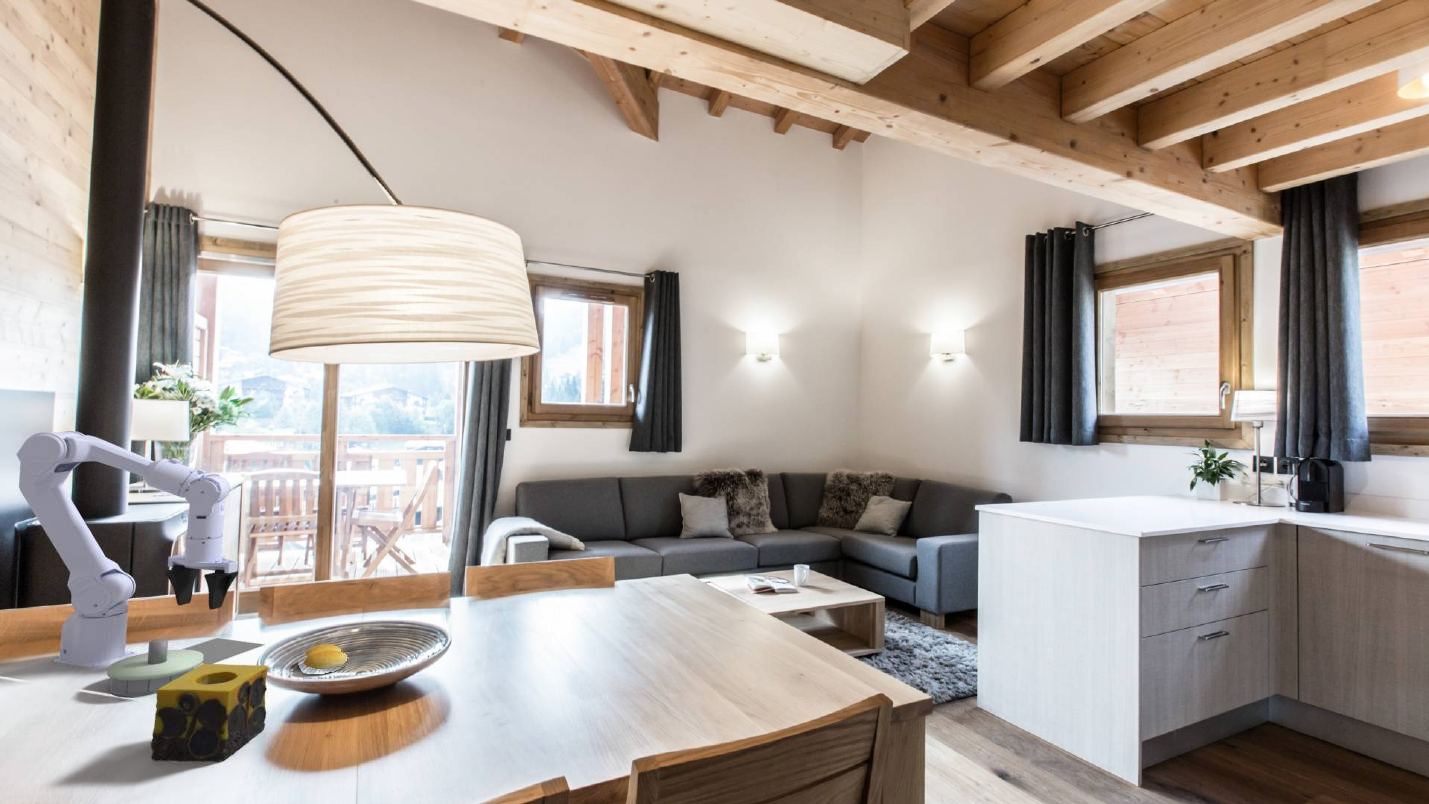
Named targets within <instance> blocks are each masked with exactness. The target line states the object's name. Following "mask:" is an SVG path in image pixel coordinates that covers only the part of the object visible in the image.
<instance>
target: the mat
mask: <svg viewBox="0 0 1429 804" xmlns="http://www.w3.org/2000/svg"><path fill="white" fill-rule="evenodd" d="M263 646H266V644H265V643H262V644H261V643H257V642H249V641H242V640H241V641H240V640H234V639H227V638H219V637H215V638H212V639H209V640H206V641H204V642H203V641H202V642H200V643H198V644H197V643H196V644H194V645H191V646H188V647H187V646H186V647H185V648H181V649H180V650H194V651H198V652H201V653H202V654H203V662H202V663H201V664H217V663H219V662H222V661H224V660H227V659H230V658H232V657H235V656H237V655H240V654H243V653H247V652H249V651H252V650H254V649H257V648H260V647H261V648H262V647H263Z"/></svg>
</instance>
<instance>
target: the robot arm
mask: <svg viewBox="0 0 1429 804" xmlns="http://www.w3.org/2000/svg"><path fill="white" fill-rule="evenodd" d="M16 456H17V458H18V460H19V462H20V463H19V464H20V465H19V477H18V479H19V480H18V481H19V482H18V488H19V491H20V493H21V494H22V496H23V499H25V501H26V502H27V505H28V506H29V507H30V509H31V511H32V512H33V514H34V516H35V517H36V519H37V520H38V522H39V524H40V526H41V527H42V529H43V531H44V532H45V534H46V535H47V537H48V538H49V540H50V542H51V543H52V545H53V546H54V548H55V549H56V550H55V551H56V552H57V553H58V554H59V556H60V558H61V559H62V561H63V563H64V564H65V566H66V567H67V570H68V571H69V577H68V581H67V587H68V589H69V591H70V594H71V600H70V601H71V602H70V603H71V606H72V608H73V610H74V611H75V612H73V613H72V614H70V615H69V616H68V617H67V618H66V619H65V621H64V622H63V625H62V627H61V632H60V634H61V635H60V648H59V657H58V658H55V659H54V660H53V662H54V663H58V664H59V663H60V664H65V665H72V666H78V667H84V668H92V669H93V668H98V667H101V666H104V665H107V664H110V663H115V662H117V661H119V660H122V659H125V658H128V657H131V656H135V655H138V652H137V651H131V650H126V642H127V631H128V630H127V628H128V617H129V616H128V615H129V604H128V600H129V599H130V598H131V597H133V595H134V593H135V592H136V588H137V586H136V581H135V579H134V577H133V576H131V575H130V574H128V573H127V572H125V571H123V569H122V568H121V567H120V566H119V563H117V562H115V561H114V560H111V559H110V558H108V557H106V556H105V554H104V552H103V550H102V548H101V547H100V545H99V543H98V542H97V540H96V539H95V537H94V536H93V535H94V534H92V532H91V530H90V528H89V527H88V525H87V524H86V522H85V521H84V519H83V517H82V516H81V514H80V512H79V510H78V508H77V507H76V505H75V504H74V502H73V500H72V498H71V497H70V495H69V493H68V492H67V491H66V489H65V487H64V483H65V482H66V481H67V479H68V477H69V475H70V473H71V472H72V471H74V469H75V468H76V467H78V466H79V465H80V464H81V463H85V462H86V463H87V462H98V463H101V464H103V465H107V466H110V467H113V468H116V469H120V470H121V471H125V472H128V473H132V474H134V475H138V476H141V477H143V479H144V481H145V484H146V485H147V486H148V487H152V488H154V489H157V490H159V491H163V492H165V493H167V494H171V495H174V496H177V497H179V498H181V499H183V498H185V501H186V502H187V503H188V504H189V507H188V518H187V526H186V527H187V529H186V538H185V539H186V540H185V541H186V542H185V555H181V554H179V555H178V554H177V555H173V556H171V555H170V556H168V560H167V561H168V562H167V568H169V567H170V568H171V569H167V570H165V575H166V578H167V579H168V580H169V582H170V584H171V586H172V589H173V592H174V596H175V598H176V599H175V600H176V604H177V606H183V605H188V604H190V603H191V601H192V597H193V591H194V586H195V585H194V584H195V581H196V579H197V575H198V573H199V571H200V570H204V571H205V570H206V571H214V572H210V573H206V574H204V576H203V578H204V580H205V582H206V585H207V589H208V590H207V591H208V609H209V610H215V609H216V610H217V609H220V608H222V607H223V604H224V601H225V599H226V597H227V594H228V591H229V589H230V587H231V585H232V584H233V582H234V580H235V579H236V578H237V576H238V575H239V571H238V564H239V561H236V560H230V559H227V558H225V555H222V550H223V549H222V547H223V546H222V545H223V537H224V536H223V535H224V524H225V523H224V522H225V521H224V520H225V499H226V498H227V497H228V496H229V494H230V491H231V490H230V489H231V487H230V483H229V482H228V480H227V479H226V478H225V477H223V476H221V475H220V474H216V473H211V474H207V475H206V473H207V471H206V470H205V469H198V470H197V469H195V468H193V467H189V466H186V465H184V464H181V460H180V459H178V458H175V457H173V458H169V459H168V458H160V459H158V460H155V461H154V460H151V459H149V458H147V457H145V456H142V455H139V454H138V453H135V452H133V451H130V450H128V449H125V448H123V447H121V446H118V445H116V444H113V443H111V442H109V441H106V440H105V439H101V438H99V437H97V436H93V435H89V434H87V435H85V434H83V433H82V432H80V431H74V430H68V431H62V432H50V431H45V432H37V433H34V434H32V435H31V436H29V437H28V438H27V439H26V440H25V441H24V442H23V444H22V445H21V447H20V448H19V450H18V451H17V453H16Z"/></svg>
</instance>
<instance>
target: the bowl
mask: <svg viewBox="0 0 1429 804" xmlns="http://www.w3.org/2000/svg"><path fill="white" fill-rule="evenodd" d="M193 669H195V668H193ZM193 669H191V670H193ZM191 670H189V671H191ZM189 671H186V672H183V673H179V674H176V675H172V676H167V677H162V678H156V679H148V680H135V681H125V680H116V679H112V678H110V677H109V678H110V679H109V681H110V682H109V687H110V693H111V695H112V696H115V697H117V698H128V699H129V698H130V699H131V698H135V697H133V696H145V695H152V694H157V690H158V689H159V688H161V687H163V686H164V685H166V684H168V683H170V682H172V681H173V680H175V679H177V678H179V677H181V676H183V675H184V674H186V673H188V672H189Z"/></svg>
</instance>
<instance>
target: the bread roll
mask: <svg viewBox="0 0 1429 804" xmlns="http://www.w3.org/2000/svg"><path fill="white" fill-rule="evenodd" d="M341 650H342V649H341V648H340V647H338V646H337V645H334V644H328V643H327V644H326V643H325V644H322V643H321V644H317V645H314V646H312V647H310V648H308V649H306V650H305V651H306V654H305V655H307V657H308V658H307V659H306V660H305V661H304V664H305V665H306V666H308V667H312V668H315V669H329V668H334V667H339V666H341V665H343V664H344V663H345V662H346V661H347V658H348V659H349V656H348V655H347V654H346V653H345V652H344V651H343V652H344V653H343V652H341ZM347 656H348V657H347Z"/></svg>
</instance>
